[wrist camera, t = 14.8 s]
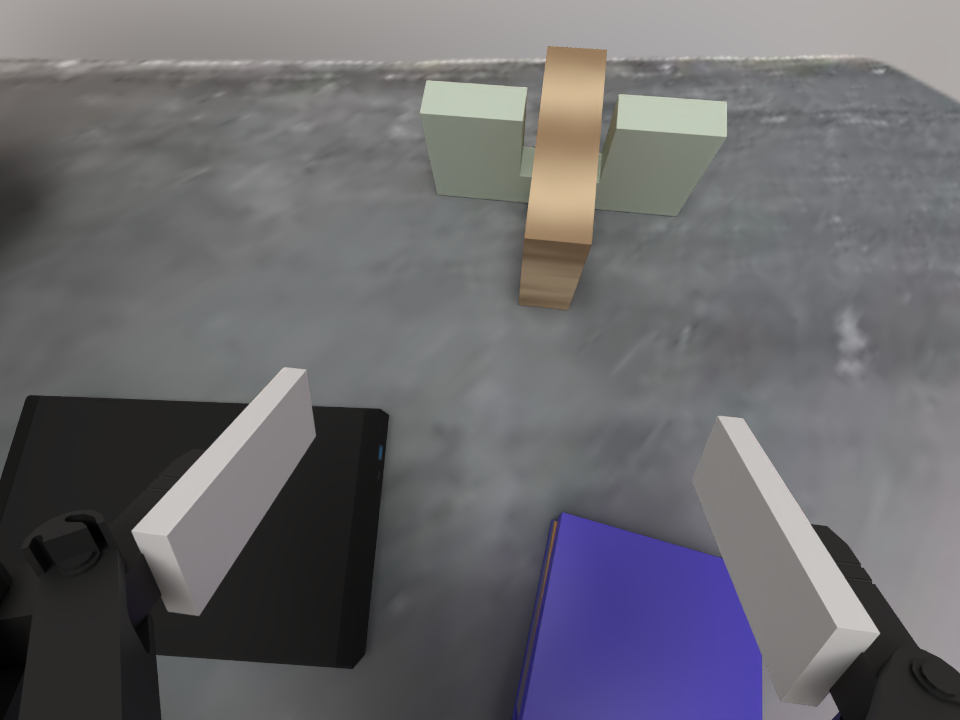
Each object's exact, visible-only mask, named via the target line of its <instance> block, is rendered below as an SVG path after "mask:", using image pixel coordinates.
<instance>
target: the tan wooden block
mask: <svg viewBox="0 0 960 720" xmlns="http://www.w3.org/2000/svg"><path fill="white" fill-rule="evenodd" d="M606 55H607V50H600V49H584V48H583V49H582V48H568V47H551V46H548V49H547V57H546V65H545V73H544V81H543V89H542V98H541V106H540V114H539V122H538V130H537V139H536V147H535V155H534V163H533V171H532V180H531V188H530V196H529V204H528V212H527V220H526V229H525V237H524V248H523V259H522V271H521V283H520V294H519V305H525V306H534V307H543V308H553V309H562V310H568V309H569V306H570V303H571V301H572V298H573V295H574V292H575V290H576V287H577V284H578V281H579V278H580V276H581V273H582V270H583V267H584V264H585V262H586V259H587V256H588V253H589V251H590V248H591V245H592V234H593V221H594V208H595V195H596V183H597V170H598V157H599V144H600V132H601V119H602V106H603V93H604V80H605V68H606Z"/></svg>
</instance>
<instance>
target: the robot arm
mask: <svg viewBox="0 0 960 720" xmlns="http://www.w3.org/2000/svg"><path fill="white" fill-rule="evenodd" d="M315 437H316V432H315V425H314V418H313V411H312V404H311V397H310V390H309V383H308V376H307V370H304V369H295V368H286V367H284V368H283V369H282V370H281V371H280V372H279V373H278V374H277V375H276V376H275V377H274V378H273V379H272V380H271V382H270V383H269V384H268V385H267V386H266V387H265V388H264V389H263V390H262V391H261V392H260V393H259V394H258V396H257V397H256V398H255V399H254V400H253V401H252V402H251V403H250V404H249V405H248V406H247V407H246V408H245V409H244V411H243V412H242V413H241V414H240V415H239V416H238V417H237V418H236V419H235V420H234V421H233V422H232V423H231V425H230V426H229V427H228V428H227V429H226V430H225V431H224V432H223V433H222V434H221V435H220V436H219V437H218V438H217V440H216V441H215V442H214V443H213V444H212V445H211V446H210V447H209V448H208V449H207V450H200V449H192V450H190V451H189V452H187V453H185V454H184V455H182V456H180V457H179V458H177V459H175V460H174V461H173V462H172V463H171V464H170V465H169V466H168V467H167V468H166V469H165V470H164V471H163V472H162V473H161V474H160V475H159V478H156V479H155V480H154V481H153V482H152V483H151V484H150V485H149V486H148V487H147V490H144V491H143V492H142V493H141V494H140V495H139V496H138V497H137V498H136V499H135V500H134V501H133V502H132V503H131V504H130V505H129V506H128V507H127V508H126V509H125V510H124V511H123V512H122V513H121V514H120V515H119V516H118V517H117V518H116V519H115V520H114V521H113V522H112V523H111V524H110V525H109V526H108V525H107V523H106V521H105V519H104V517H103V515H102V514H101V513H99V512H97V511H95V510H76V511H72V512H67V513H64V514H62V515H59V516H57V517H55V518H52V519H50V520H48V521H47V522H45V523H44V524H42V525H41V526H39V527H37V528H36V529H35V530H34V531H33V532H32V533H31V534H30V535H29V536H28V537H27V538H26V539H25V540H24V542H23V544H22V547H21V549H20V550H21V552H22V553H23V555H24V557H25V558H26V560H27V561H28V564H21V565H14V566H7V567H5V566H4V564H3V563H2V562H1V560H0V720H161V709H160V697H159V686H158V674H157V662H156V650H155V638H154V626H153V618H152V616H151V613H150V610H151V609H152V607H153V606H154V605H155V603H156V602H157V601H158V599H159V598H160V597H161V598H162V600H163V602H164V604H165V606H166V609H167V611H168V612H175V613H182V614H188V615H195V616H199V615H200V614H201V612H202V611H203V609H204V608H205V606H206V605H207V603H208V602H209V600H210V599H211V597H212V595H213V594H214V592H215V591H216V589H217V588H218V586H219V585H220V583H221V582H222V580H223V579H224V577H225V575H226V574H227V572H228V571H229V569H230V568H231V566H232V565H233V563H234V562H235V560H236V558H237V557H238V555H239V554H240V552H241V551H242V549H243V548H244V546H245V545H246V543H247V542H248V540H249V538H250V537H251V535H252V534H253V532H254V531H255V529H256V528H257V526H258V525H259V523H260V521H261V520H262V518H263V517H264V515H265V514H266V512H267V511H268V509H269V508H270V506H271V505H272V503H273V501H274V500H275V498H276V497H277V495H278V494H279V492H280V491H281V489H282V488H283V486H284V484H285V483H286V481H287V480H288V478H289V477H290V475H291V474H292V472H293V471H294V469H295V468H296V466H297V464H298V463H299V461H300V460H301V458H302V457H303V455H304V454H305V452H306V451H307V449H308V447H309V446H310V444H311V443H312V441H313V440H314V438H315ZM692 483H693V485H694V488H695V490H696V493H697V495H698V498H699V500H700V503H701V505H702V508H703V510H704V513H705V515H706V518H707V520H708V523H709V525H710V528H711V530H712V533H713V535H714V538H715V540H716V543H717V545H718V548H719V550H720V552H721V555H722V557H723V560H724V562H725V565H726V567H727V570H728V572H729V575H730V577H731V580H732V582H733V585H734V587H735V590H736V592H737V595H738V597H739V600H740V602H741V605H742V607H743V610H744V612H745V615H746V617H747V620H748V622H749V625H750V627H751V629H752V632H753V634H754V637H755V639H756V642H757V644H758V647H759V649H760V652H761V654H762V657H763V659H764V662H765V664H766V667H767V669H768V672H769V674H770V677H771V679H772V682H773V684H774V687H775V689H776V692H777V694H778V697H779V699H780V701H782V702H789V703H795V704H802V705H809V706H816V707H817V706H818V705H819V704H820V703H821V702H822V700H823V699H824V698H825V697H826V696H827V695H828V694H829V692H830V693H831V695H832V697H833V699H834V701H835V703H836V705H837V707H838V710H839V712H838V714H837V715H836V716H835V717H834V718H833V719H832V720H960V673H959V672H958V671H957V670H956V669H954V668H953V667H951V666H950V665H949V664H947V663H946V662H945V661H943V660H942V659H941V658H939V657H937V656H935V655H933V654H931V653H929V652H927V651H925V650H923V649H920V648H919V647H918V646H917V644H916V643H915V641H914V640H913V639H912V637H911V636H910V634H909V633H908V631H907V630H906V628H905V627H904V626H903V624H902V623H901V621H900V620H899V618H898V617H897V615H896V614H895V613H894V611H893V610H892V608H891V607H890V605H889V604H888V602H887V601H886V600H885V598H884V597H883V595H882V594H881V592H880V591H879V589H878V588H877V587H876V585H875V584H872V579H871V578H870V576H869V575H868V574H867V572H866V571H865V569H864V568H861V563H860V562H859V561H858V559H857V558H856V556H855V555H854V553H853V552H852V550H851V549H850V548H849V546H848V545H847V544H846V543H845V542H844V541H843V540H842V539H841V538H840V537H839V536H837V535H836V534H835V533H834V532H833V531H832V530H831V529H830V528H828V527H827V526H821V525H813V524H810V523H809V521H808V519H807V518H806V516H805V515H804V513H803V512H802V510H801V509H800V507H799V505H798V504H797V502H796V501H795V499H794V498H793V496H792V494H791V493H790V491H789V490H788V488H787V487H786V485H785V483H784V482H783V480H782V479H781V477H780V476H779V474H778V473H777V471H776V469H775V468H774V466H773V465H772V463H771V462H770V460H769V458H768V457H767V455H766V454H765V452H764V451H763V449H762V448H761V446H760V444H759V443H758V441H757V440H756V438H755V437H754V435H753V433H752V432H751V430H750V429H749V427H748V426H747V424H746V422H745V421H744V419H743V418H734V417H725V416H717V418H716V421H715V424H714V426H713V429H712V431H711V434H710V436H709V439H708V441H707V444H706V446H705V449H704V451H703V454H702V456H701V459H700V461H699V464H698V467H697V469H696V472H695V474H694V477H693V479H692Z"/></svg>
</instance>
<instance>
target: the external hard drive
mask: <svg viewBox="0 0 960 720" xmlns="http://www.w3.org/2000/svg"><path fill="white" fill-rule="evenodd" d="M248 405H249V404H242V403H216V402H191V401H165V400H139V399H113V398H87V397H62V396H36V395H30V396H28V397H27V398H26V400H25V403H24V406H23V409H22V412H21V416H20V419H19V422H18V425H17V428H16V432H15V435H14V438H13V441H12V444H11V447H10V451H9V454H8V457H7V460H6V463H5V466H4V470H3V473H2V476H1V479H0V560H1V562H2V563H3V564H4V566H5V567H7V566H14V565H21V564H28V561H27V560H26V558H25V557H24V555H23V553H22V552H21V550H20V549H21V547H22V544H23V542H24V540H25V539H26V538H27V537H28V536H29V535H30V534H31V533H32V532H33V531H34V530H35V529H36V528H37V527H39V526H41V525H42V524H44V523H45V522H47V521H48V520H50V519H52V518H55V517H57V516H59V515H62V514H64V513H67V512H72V511H76V510H95V511H97V512H99V513H101V514H102V515H103V517H104V519H105V521H106V523H107V525H108V526H109V525H110V524H111V523H112V522H113V521H114V520H115V519H116V518H117V517H118V516H119V515H120V514H121V513H122V512H123V511H124V510H125V509H126V508H127V507H128V506H129V505H130V504H131V503H132V502H133V501H134V500H135V499H136V498H137V497H138V496H139V495H140V494H141V493H142V492H143V491H144V490H147V487H148V486H149V485H150V484H151V483H152V482H153V481H154V480H155V479H156V478H159V475H160V474H161V473H162V472H163V471H164V470H165V469H166V468H167V467H168V466H169V465H170V464H171V463H172V462H173V461H174V460H175V459H177V458H179V457H180V456H182V455H184V454H185V453H187V452H189V451H190V450H192V449H200V450H207V449H208V448H209V447H210V446H211V445H212V444H213V443H214V442H215V441H216V440H217V438H218V437H219V436H220V435H221V434H222V433H223V432H224V431H225V430H226V429H227V428H228V427H229V426H230V425H231V423H232V422H233V421H234V420H235V419H236V418H237V417H238V416H239V415H240V414H241V413H242V412H243V411H244V409H245V408H246V407H247V406H248ZM312 411H313V418H314V425H315V432H316V437H315V438H314V440H313V441H312V443H311V444H310V446H309V447H308V449H307V451H306V452H305V454H304V455H303V457H302V458H301V460H300V461H299V463H298V464H297V466H296V468H295V469H294V471H293V472H292V474H291V475H290V477H289V478H288V480H287V481H286V483H285V484H284V486H283V488H282V489H281V491H280V492H279V494H278V495H277V497H276V498H275V500H274V501H273V503H272V505H271V506H270V508H269V509H268V511H267V512H266V514H265V515H264V517H263V518H262V520H261V521H260V523H259V525H258V526H257V528H256V529H255V531H254V532H253V534H252V535H251V537H250V538H249V540H248V542H247V543H246V545H245V546H244V548H243V549H242V551H241V552H240V554H239V555H238V557H237V558H236V560H235V562H234V563H233V565H232V566H231V568H230V569H229V571H228V572H227V574H226V575H225V577H224V579H223V580H222V582H221V583H220V585H219V586H218V588H217V589H216V591H215V592H214V594H213V595H212V597H211V599H210V600H209V602H208V603H207V605H206V606H205V608H204V609H203V611H202V612H201V614H200V615H199V616H195V615H188V614H182V613H175V612H168V611H167V609H166V606H165V604H164V602H163V600H162V598H161V597H160V598H159V599H158V601H157V602H156V603H155V605H154V606H153V607H152V609H151V610H150V613H151V616H152V618H153V626H154V638H155V650H156V655H165V656H179V657H193V658H207V659H221V660H235V661H249V662H263V663H277V664H291V665H305V666H319V667H333V668H347V669H353V668H354V667H355V665H356V664H357V663H358V662H359V661H360V659H361V658H362V657H363V656H364V655H365V648H366V638H367V628H368V618H369V609H370V599H371V589H372V579H373V569H374V559H375V549H376V539H377V529H378V519H379V509H380V499H381V489H382V479H383V469H384V459H385V449H386V440H387V430H388V420H389V415H388V414H387V413H385V412H384V411H383V410H381V409H371V408H346V407H320V406H312Z"/></svg>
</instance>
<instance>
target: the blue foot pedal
mask: <svg viewBox="0 0 960 720" xmlns="http://www.w3.org/2000/svg"><path fill="white" fill-rule="evenodd" d="M512 720H762V654H761V652H760V649H759V647H758V644H757V642H756V639H755V637H754V634H753V632H752V629H751V627H750V625H749V622H748V620H747V617H746V615H745V612H744V610H743V607H742V605H741V602H740V600H739V597H738V595H737V592H736V590H735V587H734V585H733V582H732V580H731V577H730V575H729V572H728V570H727V567H726V565H725V562H724V560H723V558H719V557H716V556H712V555H709V554H705V553H702V552H698V551H695V550H692V549H688V548H685V547H681V546H678V545H674V544H671V543H667V542H664V541H660V540H657V539H653V538H650V537H647V536H643V535H640V534H636V533H633V532H629V531H626V530H622V529H619V528H615V527H612V526H608V525H605V524H602V523H598V522H595V521H591V520H588V519H584V518H581V517H577V516H574V515H570V514H567V513H563V512H562V514H561V515H560V516H559V517H558V521H556V520H552V521H551V526H550V531H549V536H548V541H547V546H546V551H545V556H544V561H543V566H542V571H541V576H540V581H539V586H538V591H537V596H536V601H535V606H534V611H533V616H532V621H531V626H530V631H529V636H528V641H527V646H526V651H525V656H524V662H523V667H522V672H521V677H520V682H519V687H518V692H517V697H516V702H515V707H514V712H513V717H512Z"/></svg>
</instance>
